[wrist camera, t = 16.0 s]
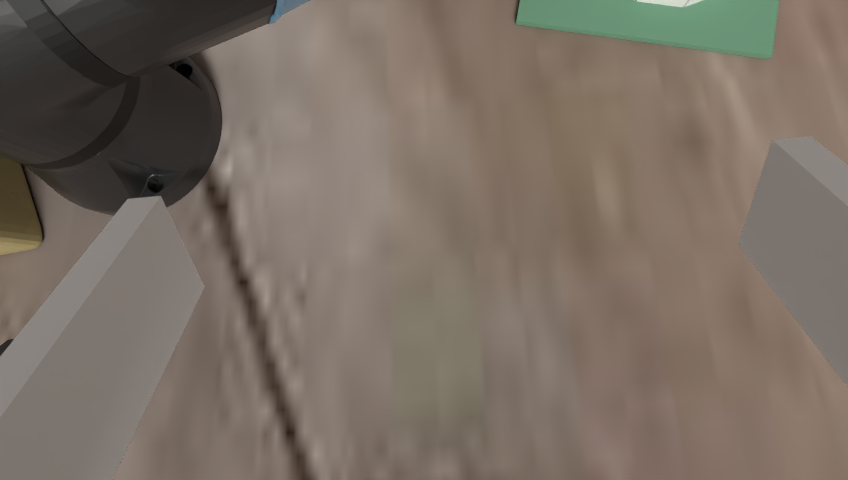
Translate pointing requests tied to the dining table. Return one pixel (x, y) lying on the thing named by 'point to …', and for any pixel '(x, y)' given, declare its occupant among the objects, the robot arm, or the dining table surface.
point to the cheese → (16, 211)
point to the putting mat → (664, 22)
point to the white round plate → (672, 2)
